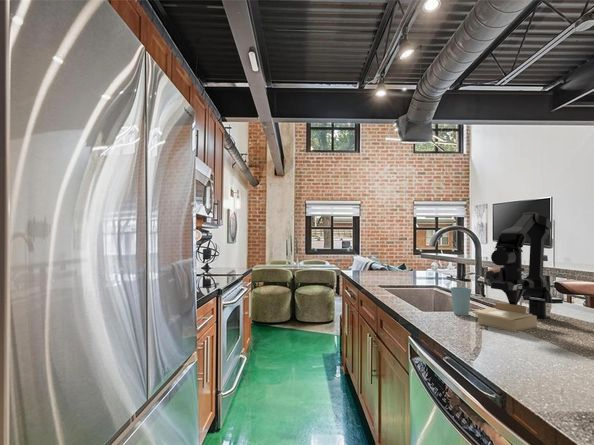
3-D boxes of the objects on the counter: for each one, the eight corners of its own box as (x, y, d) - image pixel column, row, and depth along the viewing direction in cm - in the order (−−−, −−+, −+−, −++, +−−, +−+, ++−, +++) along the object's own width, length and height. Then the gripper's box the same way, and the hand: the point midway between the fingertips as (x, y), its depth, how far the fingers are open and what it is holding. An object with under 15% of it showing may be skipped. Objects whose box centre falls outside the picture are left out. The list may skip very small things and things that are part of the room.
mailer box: (499, 319, 135) (499, 309, 135) (536, 327, 124) (536, 315, 124) (477, 324, 127) (477, 312, 128) (515, 332, 116) (515, 320, 117)
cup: (458, 311, 150) (458, 286, 150) (475, 315, 143) (475, 289, 143) (446, 313, 146) (446, 287, 146) (463, 317, 139) (463, 290, 140)
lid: (494, 309, 133) (494, 301, 133) (532, 315, 122) (531, 307, 122) (472, 312, 126) (472, 304, 126) (510, 320, 115) (510, 310, 115)
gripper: (503, 262, 140) (504, 302, 140) (476, 264, 131) (476, 306, 130) (534, 264, 131) (535, 307, 130) (507, 266, 121) (507, 312, 120)
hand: (512, 308), depth 128 cm, fingers closed
